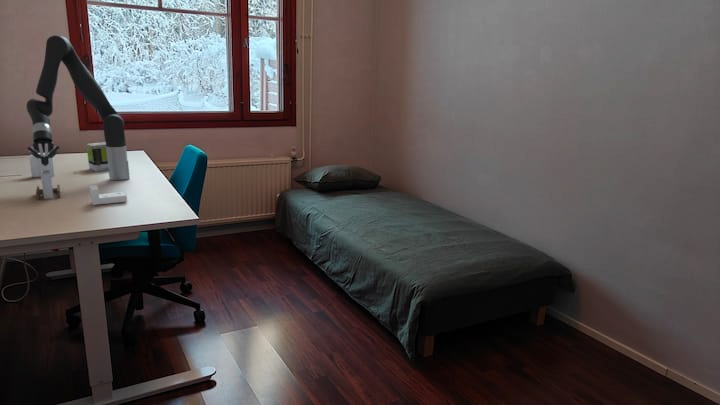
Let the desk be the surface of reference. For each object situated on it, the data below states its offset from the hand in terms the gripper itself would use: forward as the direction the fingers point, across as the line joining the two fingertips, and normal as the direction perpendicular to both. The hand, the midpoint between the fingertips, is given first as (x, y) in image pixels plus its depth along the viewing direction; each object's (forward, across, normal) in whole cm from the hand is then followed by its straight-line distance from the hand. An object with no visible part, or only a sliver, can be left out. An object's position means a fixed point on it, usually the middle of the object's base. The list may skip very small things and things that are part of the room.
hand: (45, 164), depth 221 cm
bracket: (+32, +22, -14) cm, 42 cm away
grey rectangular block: (+16, 0, +2) cm, 16 cm away
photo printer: (-18, -3, +37) cm, 41 cm away
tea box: (-26, +27, +44) cm, 58 cm away
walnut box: (+16, 0, +2) cm, 16 cm away
